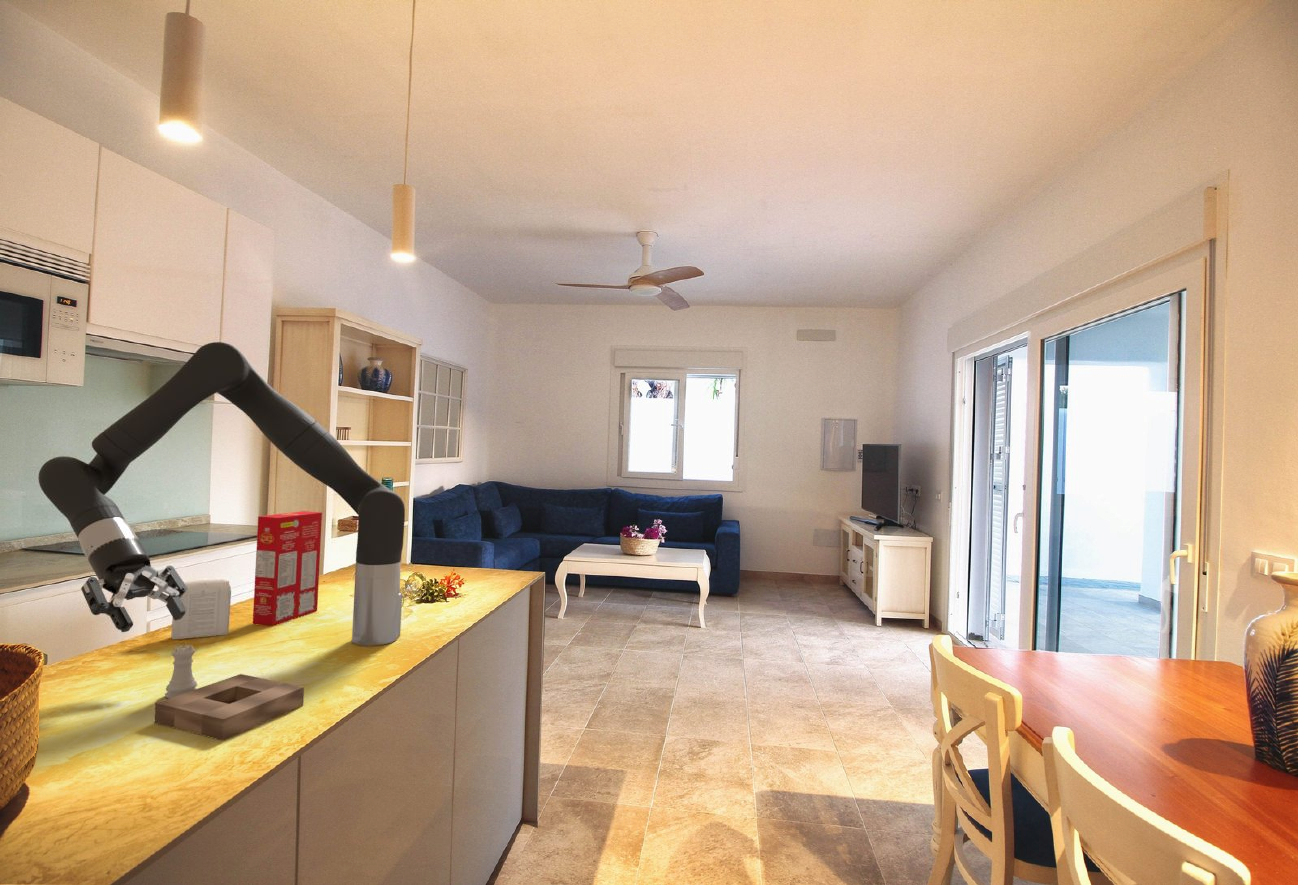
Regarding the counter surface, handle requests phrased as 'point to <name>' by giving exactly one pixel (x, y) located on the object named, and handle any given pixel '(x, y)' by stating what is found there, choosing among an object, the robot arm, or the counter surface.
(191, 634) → the photo printer
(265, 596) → the food packaging
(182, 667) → the rook chess piece
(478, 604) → the counter surface
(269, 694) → the socket board
